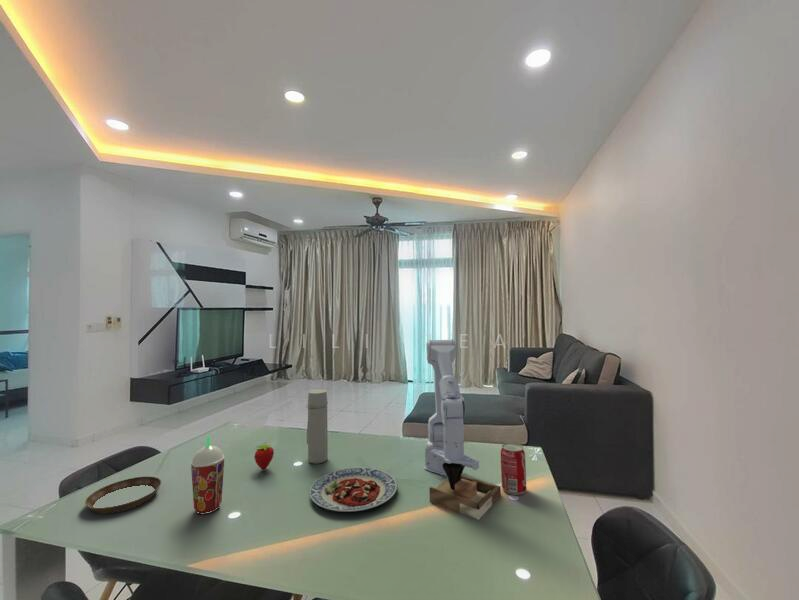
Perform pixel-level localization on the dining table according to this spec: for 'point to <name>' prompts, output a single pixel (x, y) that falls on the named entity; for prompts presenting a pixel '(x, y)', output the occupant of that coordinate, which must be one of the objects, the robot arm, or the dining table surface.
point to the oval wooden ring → (120, 485)
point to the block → (466, 489)
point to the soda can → (513, 469)
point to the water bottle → (317, 426)
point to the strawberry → (264, 456)
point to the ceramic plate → (353, 489)
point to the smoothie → (207, 478)
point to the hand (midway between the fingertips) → (454, 488)
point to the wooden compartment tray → (465, 506)
